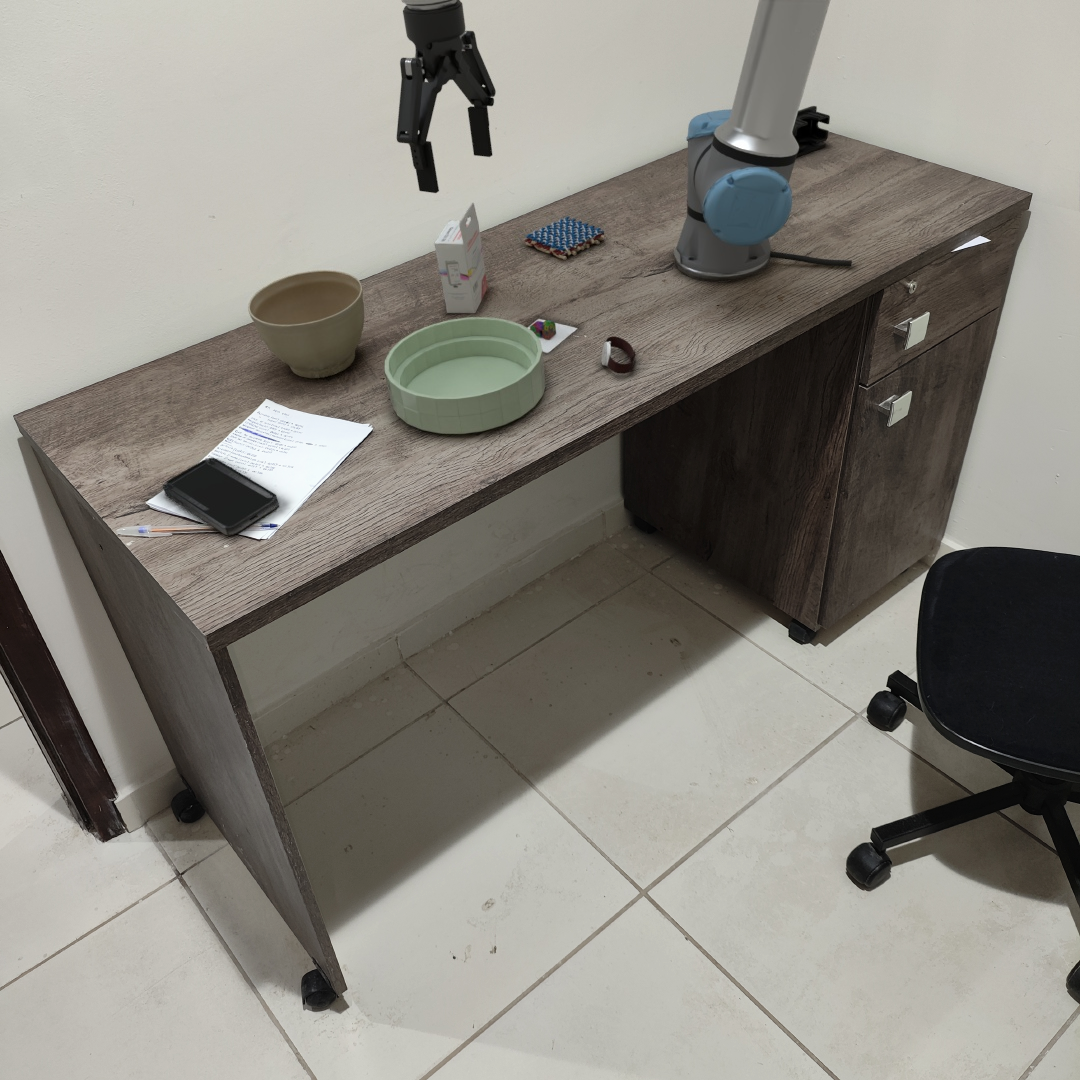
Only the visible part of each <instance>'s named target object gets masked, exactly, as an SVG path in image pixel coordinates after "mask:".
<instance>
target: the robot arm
mask: <svg viewBox="0 0 1080 1080" xmlns="http://www.w3.org/2000/svg"><path fill="white" fill-rule="evenodd" d="M401 2H402V3H403V4H404V5H405V6H404V7H403V9H402V15H403V21H404V28H405V34H406V37H407V39H408V40H409V41H410V42H412V43H413V44H414V47H415V53H414V54H415V55H414V57H401V58H400V61H399V66H400V75H401V76H400V77H401V82H400V92H399V93H400V95H399V103H398V105H399V106H398V116H397V129H396V142H397V143H399V144H408V145H409V149H410V153H411V158H412V165H413V168H414V170H415V174H416V179H417V185H418V190H419V192H425V193H432V194H437V193H439V192H440V188H439V182H438V176H437V171H436V163H435V157H434V152H433V145H432V141H431V140H430V141H429V140H428V134H429V131H430V127H431V122H432V118H433V115H434V110H435V105H436V102H437V96H438V94H439V93H441V91H442V90H443V86H445V85H446V84H448V83H449V81H453V82H454V83H455V85H456V86H457V87H458V89H459V90H460V91H461V93H462V94H463V95H464V97H465V98H466V99H467V100H468V102H469V103H470V104H471V105H472V106H468V107H467V115H468V122H469V131H470V137H471V144H472V151H473V156H475V157H476V156H477V157H484V158H490V157H492V156H493V149H492V139H491V132H490V119H489V110H488V109H489V108H488V107H493V106H494V104H495V99H494V97H495V96H496V92H497V91H496V88H495V85H494V83H493V81H492V78H491V76H490V74H489V71H488V69H487V67H486V64H485V62H484V59H483V57H482V55H481V53H480V51H479V47H478V43H477V38H476V37H477V36H476V34H475V32H474V30H466V22H465V20H466V19H465V13H464V6H463V5H464V4H463V2H462V1H461V0H401ZM830 3H831V0H758V2H757V7H756V10H755V14H754V19H753V22H752V27H751V30H750V35H749V39H748V43H747V47H746V51H745V55H744V59H743V62H742V66H741V71H740V75H739V79H738V83H737V86H736V91H735V96H734V99H733V103H732V107H731V108H729V109H719V110H712V111H707V112H704V113H700V114H698V115H696V116H694V117H692V118H691V119H690V120H689V123H688V126H687V136H686V139H685V140H686V141H687V174H686V177H687V178H686V180H687V184H686V217H685V220H684V223H683V226H682V229H681V232H680V234H679V238H678V241H677V244H676V247H675V246H674V247H673V254H674V257H675V258H674V260H675V261H674V263H675V266H676V268H677V269H678V270H679V271H680V272H681V273H683V274H684V275H686V276H688V277H691V278H694V279H697V280H700V281H701V280H702V281H709V282H734V281H739V280H744V279H748V278H751V277H754V276H756V275H759V274H760V273H762V272H764V271H765V270H766V269H767V268H768V267H770V264H771V261H772V260H771V259H773V258H774V259H780V260H788V261H795V262H800V263H806V264H811V265H818V266H829V267H851V268H852V265H853V264H852V263H853V260H852V259H850V260H849V259H827V258H821V257H813V256H807V255H801V254H795V253H787V252H780V251H773V250H772V246H771V242H770V238H771V237H773V236H775V235H776V234H778V232H779V231H780V230H782V228H783V227H784V226H785V224H786V223H787V221H788V219H789V217H790V214H791V213H792V208H793V207H792V206H793V196H792V195H793V190H792V188H791V186H790V180H791V177H792V174H793V170H794V167H795V164H796V160H797V158H798V157H797V153H798V150H799V145H798V143H797V141H796V140H795V138H794V136H793V133H792V130H793V127H794V124H795V120H796V117H797V113H798V111H799V110H800V106H801V103H802V99H803V96H804V92H805V90H806V85H807V82H808V78H809V77H810V76H809V75H810V72H811V69H812V65H813V62H814V58H815V55H816V51H817V48H818V45H819V41H820V38H821V35H822V34H821V33H822V31H823V28H824V25H825V21H826V17H827V14H828V10H829V7H830Z"/></svg>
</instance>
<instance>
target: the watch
mask: <svg viewBox="0 0 1080 1080" xmlns="http://www.w3.org/2000/svg"><path fill="white" fill-rule="evenodd" d="M611 348H615V349H619V350H621V351H623V352H624V353H625V354H626V355H627V356H628V358H629V360H630V362H628V363H620V362H617V361H615V360H614V359H613V358H612V356H611V351H612V349H611ZM635 359H636V350H634V349H633V346H632V345H631V344H630V342H628V341H627V340H625V339H624V338H621V337H619V336H609V337H607V338H606V340H605V342H604V343H603V347H602V351H601V363H602V364H601V365H602V366H606V367H608V369H609V370H611V371H612V372H613V373H616V374H618V375H619V374H622V375H624V374H628V373H630V372H631V371H632V369H633V367H634V363H635Z"/></svg>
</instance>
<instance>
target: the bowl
mask: <svg viewBox="0 0 1080 1080" xmlns="http://www.w3.org/2000/svg"><path fill="white" fill-rule="evenodd" d="M384 377H385V380H386V384H387V385H386V386H387V389H388V393H389V398H390V402H391V403H390V404H391V406H392V408H393V410H394V412H395V414H396V416H398V417H399V418H400V419H401V420H402V421H403V422H404V423H406V424H408V425H409V426H412V427H414V428H417V429H419V430H422V431H426V432H430V433H436V434H442V435H443V434H446V435H448V434H449V435H464V434H471V433H479V432H485V431H488V430H491V429H495V428H498V427H502V426H505V425H507V424H509V423H512V422H514V421H515V420H517V419H520V418H521V417H523V416H524V415H525V414H527V413H528V412H530V411H531V410H532V409H533V408H535V407H536V405H537V404H538V403H539V402H540V400H541V399H542V397H543V396H544V393H545V388H546V385H547V384H546V383H547V381H546V373H545V362H544V352H543V351H542V346H541V342H540V339H539V338H538V337H537V336H536V335H535V333H534V332H533V331H531V330H530V329H528V327H526V326H525V325H523V324H521V323H518V322H515V321H512V320H509V319H506V318H505V319H504V318H498V317H497V318H496V317H490V316H472V317H471V316H470V317H469V316H468V317H462V318H460V317H459V318H454V319H453V318H452V319H448V320H444V321H440V322H435V323H431V324H430V325H427V326H425V327H423V328H420V329H417V330H415V331H413V332H411V333H410V334H408V335H407V336H405V337H404V338H402V339H400V340H399V341H398V342H397V343H396V344H395V345H394V346H393V347H392V348H391V349H390V350H389V352H388V354H387V356H386V357H385V359H384Z"/></svg>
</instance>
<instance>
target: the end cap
mask: <svg viewBox="0 0 1080 1080" xmlns="http://www.w3.org/2000/svg"><path fill="white" fill-rule="evenodd" d="M817 109H818V107H817V105H811V106H808V107H804V108H802V109H799V110H798V113H797V117H796V120H795V124H794V127H793V130H792V133H793V136H794V138H795V140H796V141H797V143H798V145H799V150H798V153H797V157H796V158H799V157H802V156H804V155H807V154H810V153H813V152H815V151H818V150H821V149H823V148H825V147H826V145H827V143H826V142H825V141H827V140H828V139H829V130H828V129H824V128H821V127H819V123H822V124H824V125H830V120H831V115H829V114H827V113H822V112H819V111H817Z"/></svg>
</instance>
